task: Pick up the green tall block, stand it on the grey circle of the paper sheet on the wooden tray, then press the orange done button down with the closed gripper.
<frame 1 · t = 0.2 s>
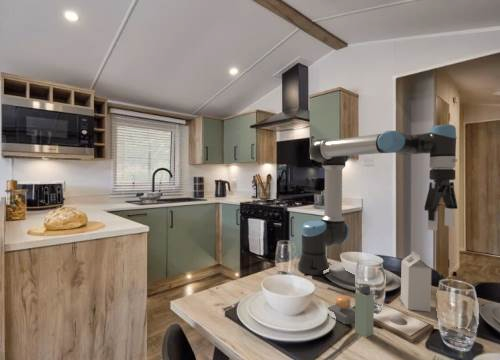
hand: (441, 228, 95), 28 cm above the table, tool pointing down, fingers open, 13 cm apart
done button: (343, 301, 86), point 5 cm above the table, slide at 0.0 cm
wooden tray: (392, 321, 84), on the table
button base: (342, 316, 86), on the table
milk carton: (415, 306, 94), on the table
green tall block: (363, 332, 78), on the table
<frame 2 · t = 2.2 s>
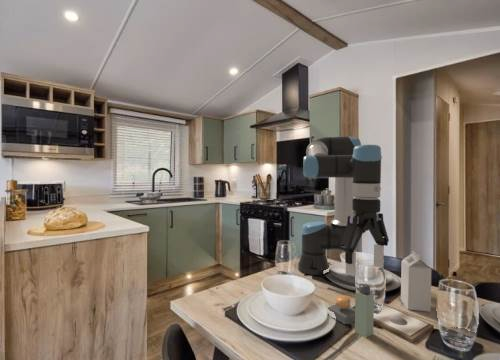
hand: (365, 270, 77), 19 cm above the table, tool pointing down, fingers open, 13 cm apart
nothing on the table moved.
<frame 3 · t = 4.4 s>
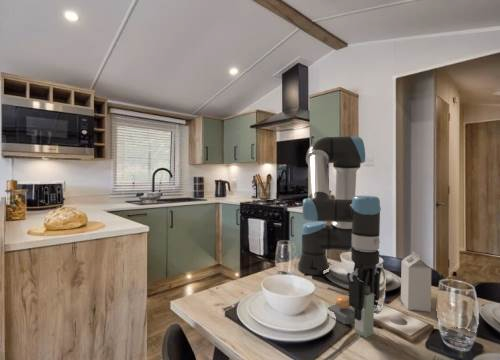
hand: (364, 327, 78), 2 cm above the table, tool pointing down, fingers closed on green tall block, 4 cm apart
green tall block: (363, 332, 78), on the table, touching gripper
everything else where it was.
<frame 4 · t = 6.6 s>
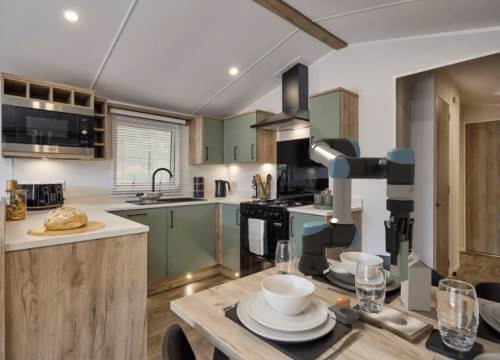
hand: (398, 273, 82), 16 cm above the table, tool pointing down, fingers closed on green tall block, 4 cm apart
green tall block: (398, 278, 82), point 14 cm above the table, touching gripper
everything else where it was.
when the fingers open (4 cm above the table, at t = 8.8 s): green tall block drops 1 cm, resting on wooden tray.
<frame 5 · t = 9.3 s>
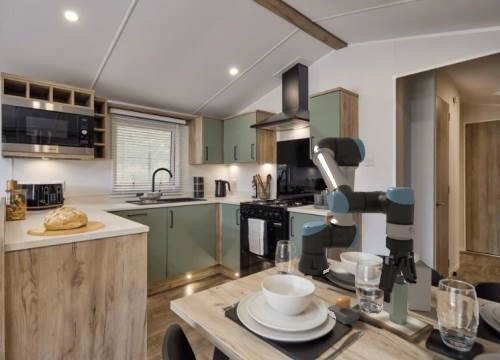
hand: (398, 307, 82), 5 cm above the table, tool pointing down, fingers open, 10 cm apart
green tall block: (398, 320, 82), point 1 cm above the table, touching wooden tray
everything else where it was.
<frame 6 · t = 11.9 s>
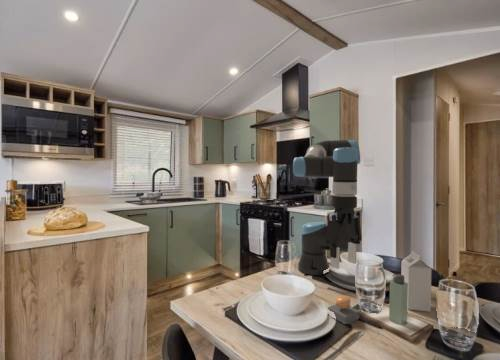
hand: (343, 264, 86), 17 cm above the table, tool pointing down, fingers open, 8 cm apart
nothing on the table moved.
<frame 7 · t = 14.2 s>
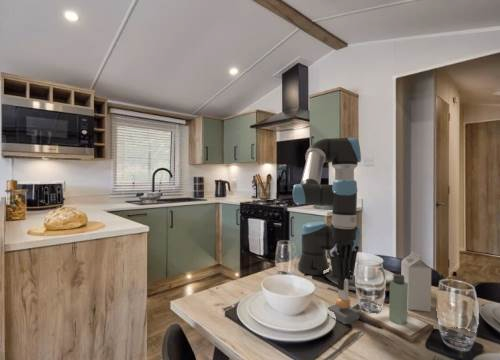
hand: (343, 298, 86), 6 cm above the table, tool pointing down, fingers closed
done button: (343, 302, 86), point 5 cm above the table, slide at 0.1 cm, touching gripper
everything else where it was.
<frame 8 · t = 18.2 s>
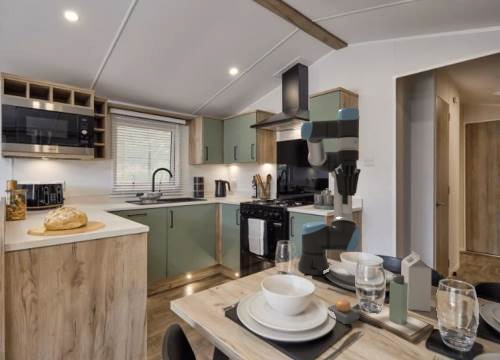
hand: (347, 212, 99), 32 cm above the table, tool pointing down, fingers closed
done button: (343, 305, 86), point 4 cm above the table, slide at 1.2 cm
everything else where it was.
at the end: green tall block inside the target area on the wooden tray (0.0 cm from its centre), point 1.3 cm above the wooden tray's base; green tall block tilted 0°; done button slide at 1.2 cm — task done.
